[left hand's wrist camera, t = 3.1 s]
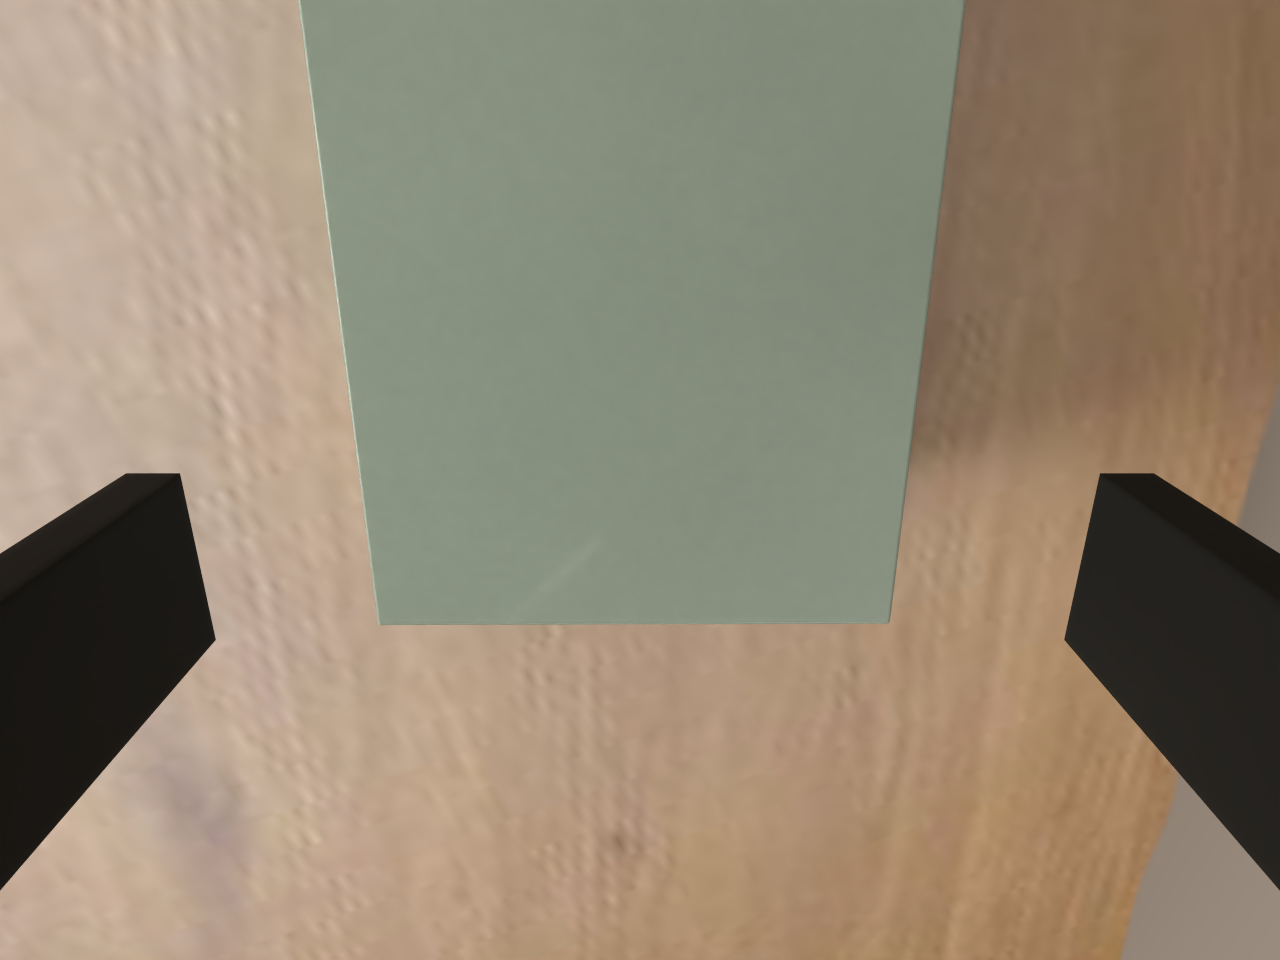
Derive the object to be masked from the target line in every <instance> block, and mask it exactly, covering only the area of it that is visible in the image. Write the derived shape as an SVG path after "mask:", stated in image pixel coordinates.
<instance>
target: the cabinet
mask: <svg viewBox="0 0 1280 960" xmlns="http://www.w3.org/2000/svg"><path fill="white" fill-rule="evenodd" d="M298 3H299V11H300V19H301V26H302V34H303V42H304V50H305V58H306V65H307V73H308V81H309V89H310V97H311V104H312V112H313V120H314V128H315V135H316V143H317V151H318V159H319V167H320V174H321V182H322V190H323V198H324V206H325V213H326V221H327V229H328V237H329V244H330V252H331V260H332V268H333V276H334V283H335V291H336V299H337V307H338V315H339V322H340V330H341V338H342V346H343V353H344V361H345V369H346V377H347V385H348V392H349V400H350V408H351V416H352V424H353V431H354V439H355V447H356V455H357V462H358V470H359V478H360V486H361V494H362V501H363V509H364V517H365V525H366V533H367V540H368V548H369V556H370V564H371V571H372V579H373V587H374V595H375V603H376V610H377V618H378V623H379V624H380V625H532V624H887V623H889V622H890V616H891V607H892V599H893V591H894V583H895V575H896V567H897V558H898V550H899V542H900V534H901V526H902V518H903V510H904V501H905V493H906V485H907V477H908V469H909V461H910V452H911V444H912V436H913V428H914V420H915V412H916V403H917V395H918V387H919V379H920V371H921V363H922V354H923V346H924V338H925V330H926V322H927V314H928V305H929V297H930V289H931V281H932V273H933V265H934V257H935V248H936V240H937V232H938V224H939V216H940V208H941V199H942V191H943V183H944V175H945V167H946V159H947V150H948V142H949V134H950V126H951V118H952V110H953V101H954V93H955V85H956V77H957V69H958V61H959V52H960V44H961V36H962V28H963V20H964V12H965V4H966V0H298Z"/></svg>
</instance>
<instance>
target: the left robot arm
mask: <svg viewBox="0 0 1280 960" xmlns="http://www.w3.org/2000/svg"><path fill="white" fill-rule="evenodd" d="M215 640H216V639H215V634H214V630H213V625H212V620H211V616H210V611H209V606H208V602H207V597H206V592H205V588H204V583H203V579H202V574H201V569H200V565H199V560H198V555H197V551H196V546H195V541H194V537H193V532H192V527H191V523H190V518H189V514H188V509H187V504H186V500H185V495H184V490H183V486H182V481H181V476H180V473H126V474H125V475H123V476H121V477H120V478H118V479H117V480H115V481H114V482H112V483H110V484H109V485H107V486H106V487H104V488H103V489H101V490H99V491H98V492H96V493H95V494H93V495H92V496H90V497H88V498H87V499H85V500H84V501H82V502H81V503H79V504H77V505H76V506H74V507H73V508H71V509H70V510H68V511H66V512H65V513H63V514H62V515H60V516H59V517H57V518H56V519H54V520H52V521H51V522H49V523H48V524H46V525H45V526H43V527H41V528H40V529H38V530H37V531H35V532H34V533H32V534H30V535H29V536H27V537H26V538H24V539H23V540H21V541H19V542H18V543H16V544H15V545H13V546H12V547H10V548H8V549H7V550H5V551H4V552H2V553H1V554H0V890H1V889H2V888H3V887H4V885H5V884H6V883H7V882H8V881H9V880H10V878H11V877H12V876H13V875H14V874H15V873H16V871H17V870H18V869H19V868H20V867H21V866H22V864H23V863H24V862H25V861H26V860H27V859H28V857H29V856H30V855H31V854H32V853H33V852H34V850H35V849H36V848H37V847H38V846H39V845H40V843H41V842H42V841H43V840H44V839H45V838H46V836H47V835H48V834H49V833H50V832H51V831H52V830H53V828H54V827H55V826H56V825H57V824H58V823H59V821H60V820H61V819H62V818H63V817H64V816H65V814H66V813H67V812H68V811H69V810H70V809H71V807H72V806H73V805H74V804H75V803H76V802H77V800H78V799H79V798H80V797H81V796H82V795H83V793H84V792H85V791H86V790H87V789H88V788H89V786H90V785H91V784H92V783H93V782H94V781H95V780H96V778H97V777H98V776H99V775H100V774H101V773H102V771H103V770H104V769H105V768H106V767H107V766H108V764H109V763H110V762H111V761H112V760H113V759H114V757H115V756H116V755H117V754H118V753H119V752H120V750H121V749H122V748H123V747H124V746H125V745H126V743H127V742H128V741H129V740H130V739H131V738H132V736H133V735H134V734H135V733H136V732H137V731H138V730H139V728H140V727H141V726H142V725H143V724H144V723H145V721H146V720H147V719H148V718H149V717H150V716H151V714H152V713H153V712H154V711H155V710H156V709H157V707H158V706H159V705H160V704H161V703H162V702H163V700H164V699H165V698H166V697H167V696H168V695H169V693H170V692H171V691H172V690H173V689H174V688H175V686H176V685H177V684H178V683H179V682H180V681H181V679H182V678H183V677H184V676H185V675H186V674H187V673H188V671H189V670H190V669H191V668H192V667H193V666H194V664H195V663H196V662H197V661H198V660H199V659H200V657H201V656H202V655H203V654H204V653H205V652H206V650H207V649H208V648H209V647H210V646H211V645H212V643H213V642H214V641H215ZM1064 640H1065V641H1066V642H1067V643H1068V645H1069V646H1070V647H1071V648H1072V649H1073V650H1074V652H1075V653H1076V654H1077V655H1078V656H1079V657H1080V659H1081V660H1082V661H1083V662H1084V663H1085V664H1086V666H1087V667H1088V668H1089V669H1090V670H1091V671H1092V673H1093V674H1094V675H1095V676H1096V677H1097V678H1098V679H1099V681H1100V682H1101V683H1102V684H1103V685H1104V686H1105V688H1106V689H1107V690H1108V691H1109V692H1110V693H1111V695H1112V696H1113V697H1114V698H1115V699H1116V700H1117V702H1118V703H1119V704H1120V705H1121V706H1122V707H1123V709H1124V710H1125V711H1126V712H1127V713H1128V714H1129V716H1130V717H1131V718H1132V719H1133V720H1134V721H1135V723H1136V724H1137V725H1138V726H1139V727H1140V728H1141V730H1142V731H1143V732H1144V733H1145V734H1146V735H1147V736H1148V738H1149V739H1150V740H1151V741H1152V742H1153V743H1154V745H1155V746H1156V747H1157V748H1158V749H1159V750H1160V752H1161V753H1162V754H1163V755H1164V756H1165V757H1166V759H1167V760H1168V761H1169V762H1170V763H1171V764H1172V766H1173V767H1174V768H1175V769H1176V770H1177V771H1178V773H1179V774H1180V775H1181V776H1182V777H1183V778H1184V779H1185V781H1186V782H1187V783H1188V784H1189V785H1190V786H1191V788H1192V789H1193V790H1194V791H1195V792H1196V793H1197V795H1198V796H1199V797H1200V798H1201V799H1202V800H1203V802H1204V803H1205V804H1206V805H1207V806H1208V807H1209V809H1210V810H1211V811H1212V812H1213V813H1214V814H1215V815H1216V817H1217V818H1218V819H1219V820H1220V821H1221V823H1222V824H1223V825H1224V826H1225V827H1226V828H1227V830H1228V831H1229V832H1230V833H1231V834H1232V835H1233V836H1234V838H1235V839H1236V840H1237V841H1238V842H1239V843H1240V845H1241V846H1242V847H1243V848H1244V849H1245V850H1246V852H1247V853H1248V854H1249V855H1250V856H1251V857H1252V859H1253V860H1254V861H1255V862H1256V863H1257V864H1258V866H1259V867H1260V868H1261V869H1262V870H1263V871H1264V872H1265V874H1266V875H1267V876H1268V877H1269V878H1270V880H1271V881H1272V882H1273V883H1274V884H1275V885H1276V887H1277V888H1278V889H1279V890H1280V554H1279V553H1278V552H1276V551H1275V550H1273V549H1272V548H1270V547H1268V546H1267V545H1265V544H1264V543H1262V542H1261V541H1259V540H1257V539H1256V538H1254V537H1253V536H1251V535H1250V534H1248V533H1246V532H1245V531H1243V530H1242V529H1240V528H1239V527H1237V526H1235V525H1234V524H1232V523H1231V522H1229V521H1228V520H1226V519H1224V518H1223V517H1221V516H1220V515H1218V514H1217V513H1215V512H1214V511H1212V510H1210V509H1209V508H1207V507H1206V506H1204V505H1203V504H1201V503H1199V502H1198V501H1196V500H1195V499H1193V498H1192V497H1190V496H1188V495H1187V494H1185V493H1184V492H1182V491H1181V490H1179V489H1177V488H1176V487H1174V486H1173V485H1171V484H1170V483H1168V482H1166V481H1165V480H1163V479H1162V478H1160V477H1159V476H1157V475H1155V474H1154V473H1100V476H1099V481H1098V486H1097V490H1096V495H1095V500H1094V504H1093V509H1092V514H1091V518H1090V523H1089V527H1088V532H1087V537H1086V541H1085V546H1084V551H1083V555H1082V560H1081V565H1080V569H1079V574H1078V579H1077V583H1076V588H1075V592H1074V597H1073V602H1072V606H1071V611H1070V616H1069V620H1068V625H1067V630H1066V634H1065V639H1064Z"/></svg>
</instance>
